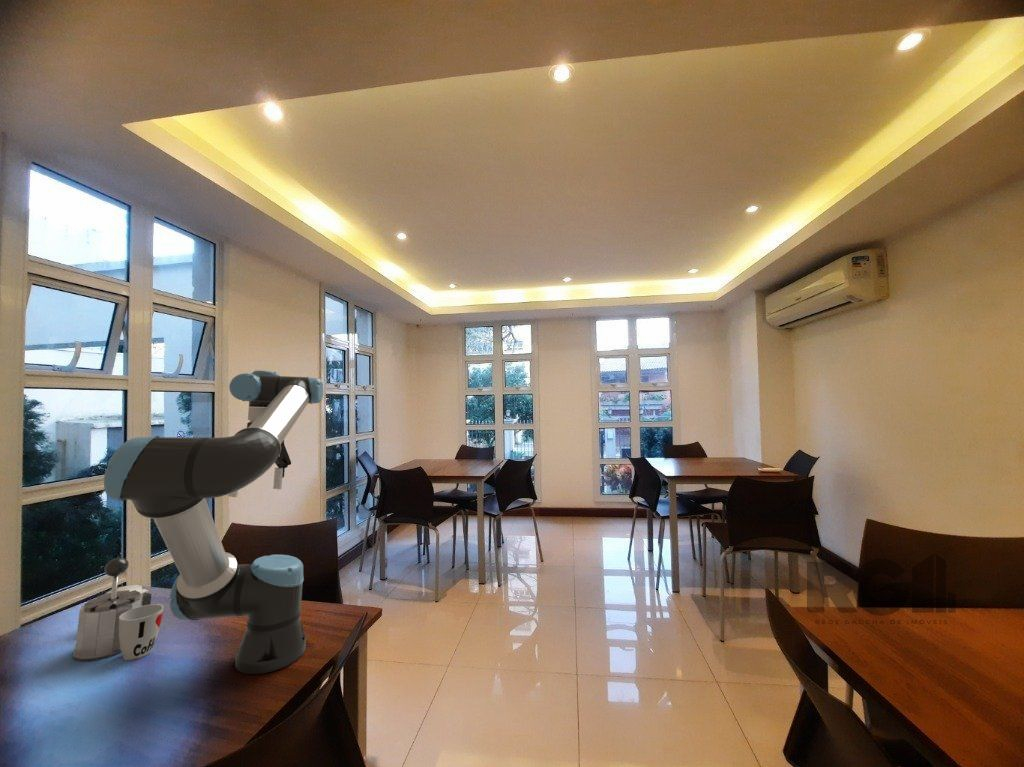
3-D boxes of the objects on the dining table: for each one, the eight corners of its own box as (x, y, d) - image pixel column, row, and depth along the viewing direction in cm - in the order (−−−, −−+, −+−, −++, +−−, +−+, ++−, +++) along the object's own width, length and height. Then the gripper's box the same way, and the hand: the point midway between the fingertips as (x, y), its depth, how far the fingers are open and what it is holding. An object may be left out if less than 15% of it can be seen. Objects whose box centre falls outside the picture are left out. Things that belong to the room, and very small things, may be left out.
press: (157, 637, 104) (162, 591, 105) (87, 666, 92) (93, 614, 93) (132, 626, 109) (137, 582, 110) (62, 653, 96) (68, 603, 97)
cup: (131, 666, 93) (136, 622, 93) (105, 661, 94) (110, 617, 95) (167, 646, 101) (171, 606, 101) (143, 642, 102) (147, 602, 103)
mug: (150, 618, 114) (154, 586, 115) (109, 633, 105) (113, 599, 106) (136, 612, 117) (139, 581, 117) (94, 627, 108) (98, 593, 109)
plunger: (139, 634, 102) (147, 555, 104) (94, 652, 94) (104, 566, 96) (121, 627, 106) (129, 550, 107) (76, 643, 98) (86, 560, 99)
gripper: (290, 421, 132) (285, 485, 130) (209, 421, 109) (202, 498, 107) (306, 421, 129) (301, 487, 127) (227, 422, 106) (219, 501, 104)
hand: (256, 492), depth 117 cm, fingers open, 13 cm apart
